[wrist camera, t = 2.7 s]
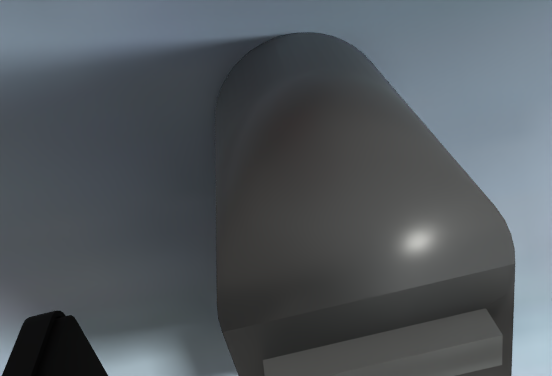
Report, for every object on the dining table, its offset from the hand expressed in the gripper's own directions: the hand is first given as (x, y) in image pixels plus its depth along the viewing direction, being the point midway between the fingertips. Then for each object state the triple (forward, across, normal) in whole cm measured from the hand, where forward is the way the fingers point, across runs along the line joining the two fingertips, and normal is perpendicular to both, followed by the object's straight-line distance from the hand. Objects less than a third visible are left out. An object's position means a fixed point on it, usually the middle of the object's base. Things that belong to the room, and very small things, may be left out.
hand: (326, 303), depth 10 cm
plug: (+4, 0, 0) cm, 4 cm away
